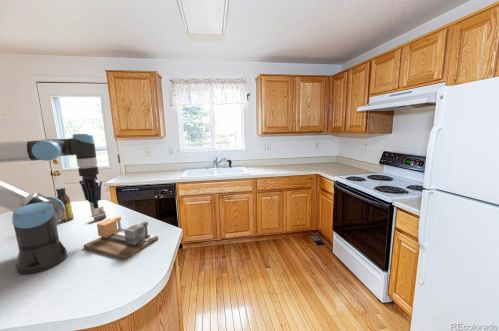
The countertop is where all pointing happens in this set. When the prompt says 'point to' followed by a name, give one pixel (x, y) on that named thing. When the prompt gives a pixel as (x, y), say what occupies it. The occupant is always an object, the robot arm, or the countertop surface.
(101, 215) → the architectural model
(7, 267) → the countertop surface
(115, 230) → the block
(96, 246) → the brown board with bar
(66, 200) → the sauce bottle
